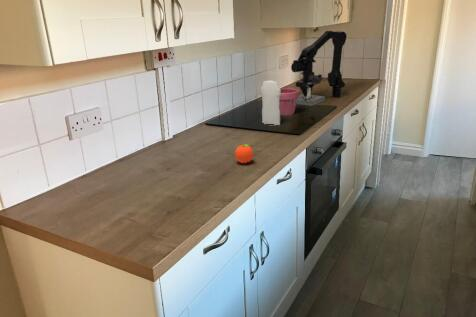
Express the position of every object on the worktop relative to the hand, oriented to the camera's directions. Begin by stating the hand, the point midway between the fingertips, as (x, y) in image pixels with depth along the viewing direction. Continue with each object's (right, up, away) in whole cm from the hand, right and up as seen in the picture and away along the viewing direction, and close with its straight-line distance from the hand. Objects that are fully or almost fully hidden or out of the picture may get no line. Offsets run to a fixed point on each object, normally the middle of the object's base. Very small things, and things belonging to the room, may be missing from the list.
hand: (307, 96), depth 244 cm
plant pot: (-16, -13, -24) cm, 31 cm away
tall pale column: (-26, -21, -43) cm, 54 cm away
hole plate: (0, -3, +1) cm, 3 cm away
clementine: (-39, -40, -91) cm, 106 cm away
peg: (0, -2, +1) cm, 2 cm away
